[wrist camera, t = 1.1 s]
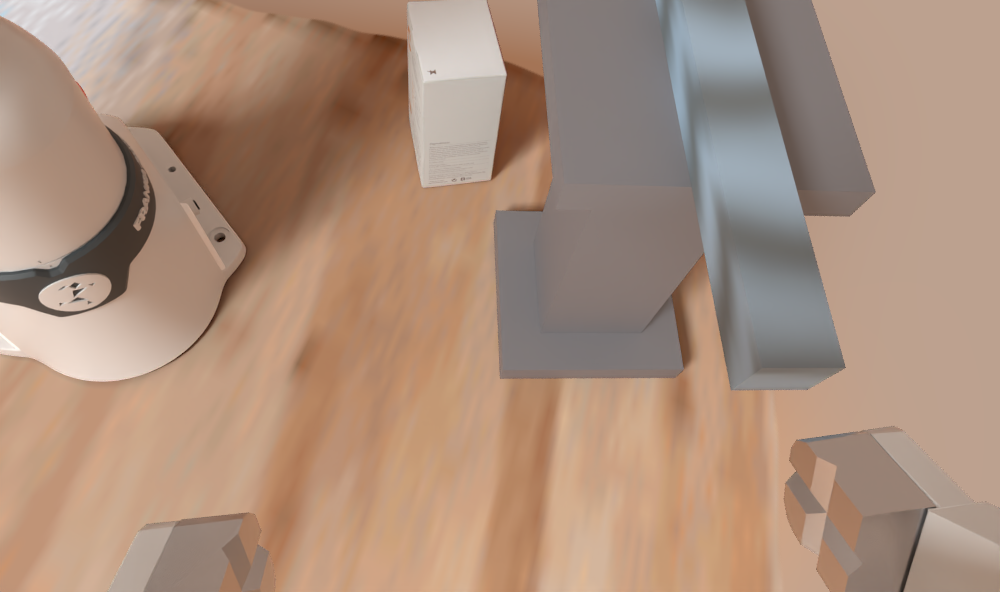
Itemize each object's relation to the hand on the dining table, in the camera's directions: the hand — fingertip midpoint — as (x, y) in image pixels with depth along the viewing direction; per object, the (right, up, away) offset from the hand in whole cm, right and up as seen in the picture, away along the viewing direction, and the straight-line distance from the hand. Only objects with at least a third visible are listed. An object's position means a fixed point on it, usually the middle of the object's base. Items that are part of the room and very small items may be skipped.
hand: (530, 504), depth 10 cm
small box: (-5, +16, +50) cm, 53 cm away
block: (+9, +10, +19) cm, 23 cm away
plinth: (+6, +3, +45) cm, 45 cm away
